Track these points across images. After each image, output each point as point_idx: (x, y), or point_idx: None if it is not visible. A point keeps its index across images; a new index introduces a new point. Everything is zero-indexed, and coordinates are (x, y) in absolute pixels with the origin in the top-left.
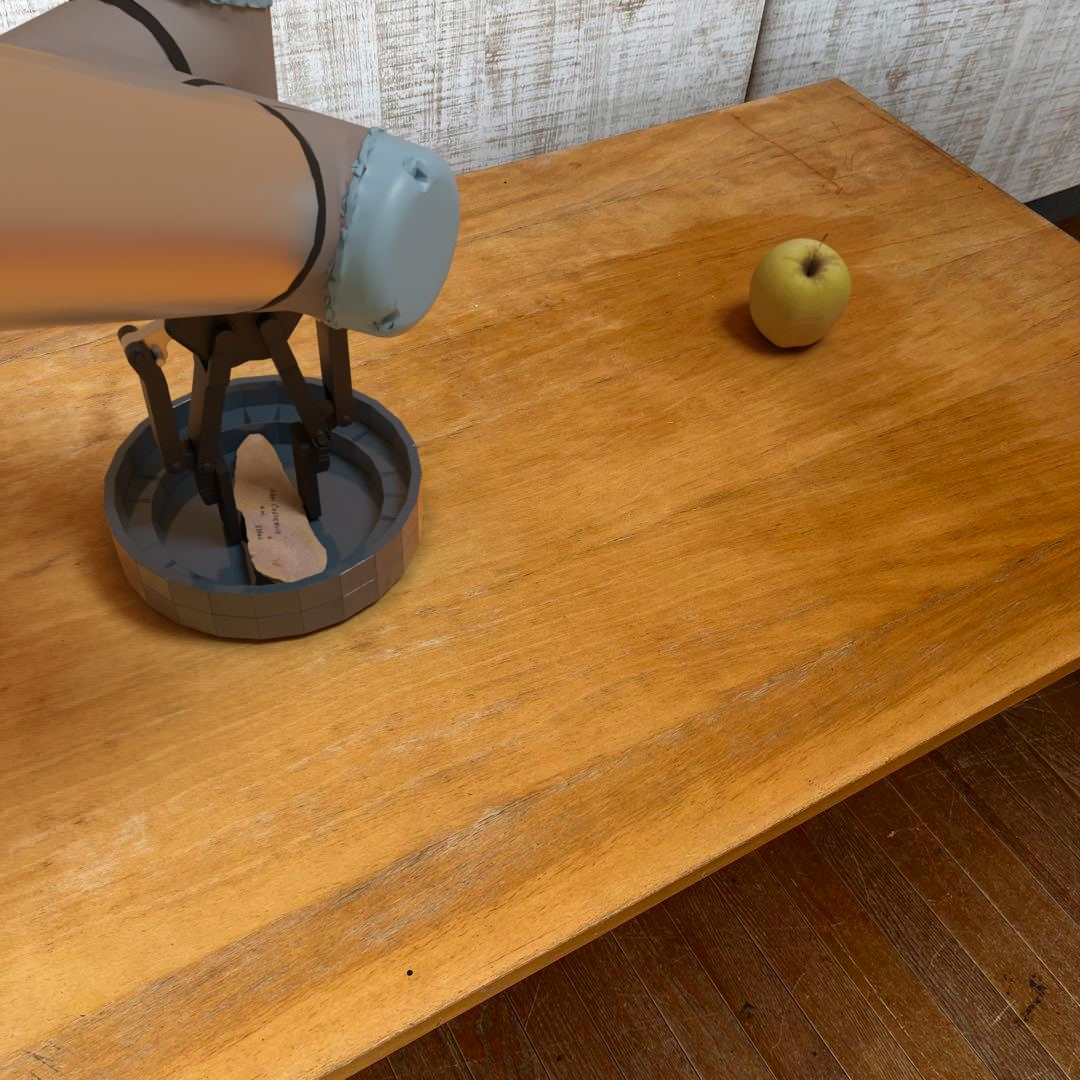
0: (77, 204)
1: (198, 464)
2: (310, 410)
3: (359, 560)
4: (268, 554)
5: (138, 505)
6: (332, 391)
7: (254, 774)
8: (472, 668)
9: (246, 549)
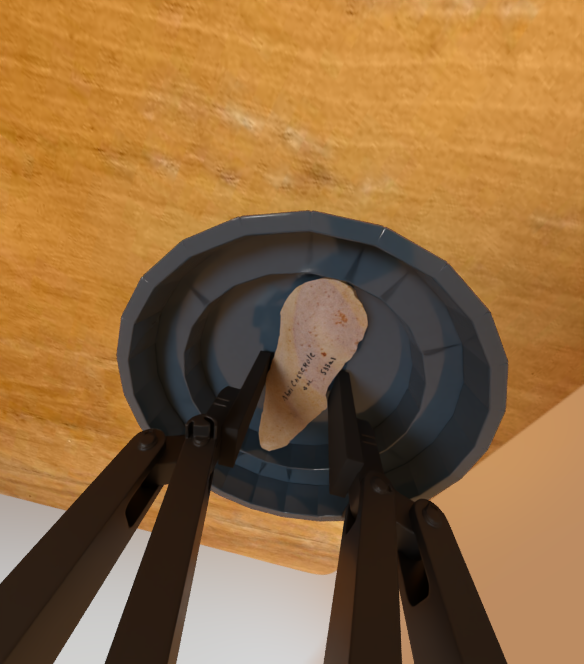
0: None
1: (392, 498)
2: (178, 503)
3: (266, 220)
4: (341, 335)
5: (400, 451)
6: (110, 523)
7: (580, 36)
8: (217, 25)
9: None
